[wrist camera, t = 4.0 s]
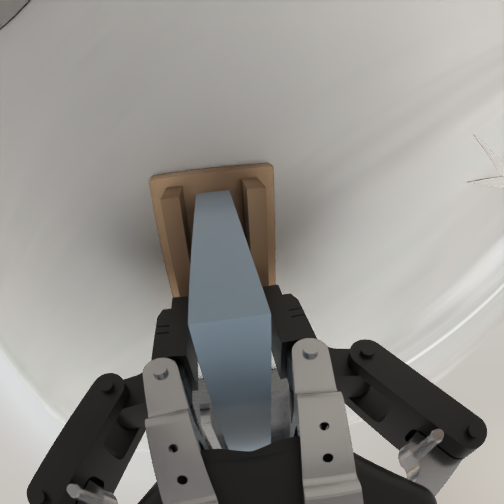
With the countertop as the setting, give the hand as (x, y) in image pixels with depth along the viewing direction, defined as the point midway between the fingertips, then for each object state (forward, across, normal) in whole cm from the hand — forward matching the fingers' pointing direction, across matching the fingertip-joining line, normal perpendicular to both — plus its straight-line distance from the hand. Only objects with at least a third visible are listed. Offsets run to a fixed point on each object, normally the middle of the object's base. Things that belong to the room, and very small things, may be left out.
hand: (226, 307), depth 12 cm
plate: (+3, 0, 0) cm, 3 cm away
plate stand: (+4, 0, 0) cm, 4 cm away
